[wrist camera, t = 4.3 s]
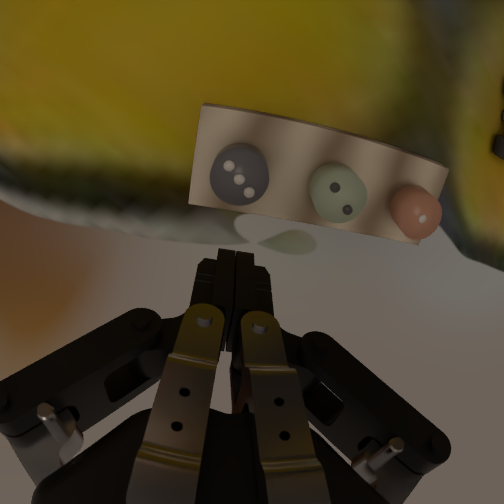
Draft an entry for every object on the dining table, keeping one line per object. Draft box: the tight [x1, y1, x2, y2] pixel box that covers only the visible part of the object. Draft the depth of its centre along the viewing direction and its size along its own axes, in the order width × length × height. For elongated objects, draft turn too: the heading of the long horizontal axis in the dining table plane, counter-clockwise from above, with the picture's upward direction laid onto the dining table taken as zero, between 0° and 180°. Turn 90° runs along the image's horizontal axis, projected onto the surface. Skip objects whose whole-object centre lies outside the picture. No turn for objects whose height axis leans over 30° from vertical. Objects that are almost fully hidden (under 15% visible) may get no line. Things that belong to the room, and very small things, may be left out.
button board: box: [188, 103, 449, 245], centre depth 28 cm, size 24×9×2 cm, turn 79°
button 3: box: [210, 143, 269, 206], centre depth 24 cm, size 4×4×3 cm
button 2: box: [309, 163, 367, 223], centre depth 25 cm, size 4×4×3 cm
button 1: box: [390, 185, 442, 240], centre depth 26 cm, size 4×4×3 cm
